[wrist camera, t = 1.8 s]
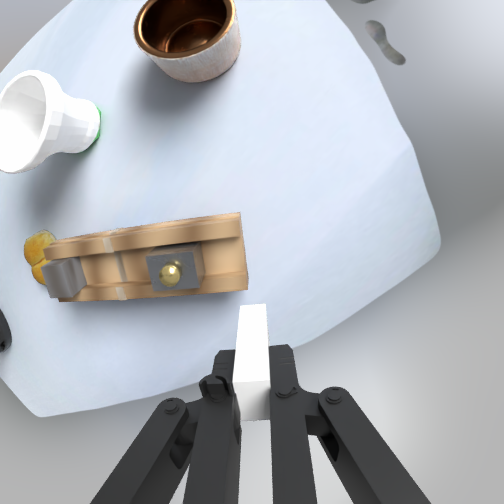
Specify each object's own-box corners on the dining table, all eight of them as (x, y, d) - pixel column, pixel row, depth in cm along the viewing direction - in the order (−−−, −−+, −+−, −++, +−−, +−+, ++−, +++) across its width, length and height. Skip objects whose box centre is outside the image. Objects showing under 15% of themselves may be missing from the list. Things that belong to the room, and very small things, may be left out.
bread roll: (46, 285, 40) (33, 295, 36) (26, 239, 37) (12, 245, 33) (75, 274, 39) (62, 284, 35) (54, 222, 36) (39, 229, 33)
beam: (85, 282, 39) (50, 312, 30) (71, 232, 37) (31, 252, 27) (249, 267, 38) (247, 302, 29) (241, 205, 36) (236, 222, 26)
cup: (92, 178, 34) (25, 192, 21) (45, 147, 32) (-21, 152, 19) (129, 105, 31) (68, 84, 18) (76, 80, 29) (13, 60, 16)
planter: (258, 54, 29) (259, 22, 20) (186, 100, 31) (163, 81, 22) (212, 4, 27) (201, -33, 18) (145, 47, 29) (116, 20, 19)
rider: (164, 276, 32) (149, 296, 27) (157, 245, 31) (140, 260, 26) (205, 272, 32) (197, 293, 27) (200, 239, 31) (189, 255, 26)
